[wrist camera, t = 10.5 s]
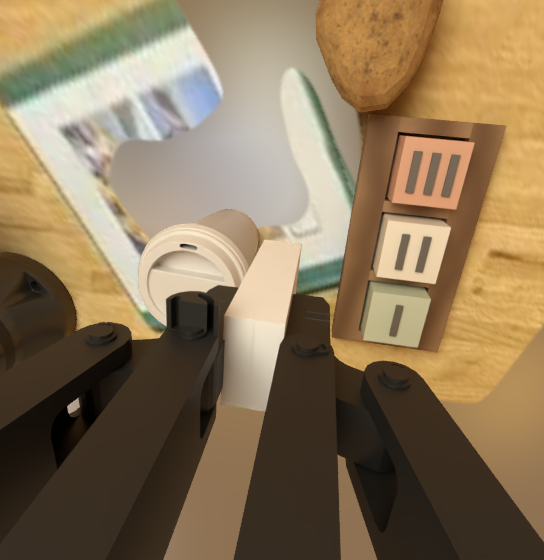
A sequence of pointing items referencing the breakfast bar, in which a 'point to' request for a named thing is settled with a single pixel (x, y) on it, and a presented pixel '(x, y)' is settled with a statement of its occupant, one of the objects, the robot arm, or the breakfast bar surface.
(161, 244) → the coffee cup
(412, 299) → the slotted block
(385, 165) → the board
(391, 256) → the tile
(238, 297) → the robot arm
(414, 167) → the tile
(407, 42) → the potato
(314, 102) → the breakfast bar surface
